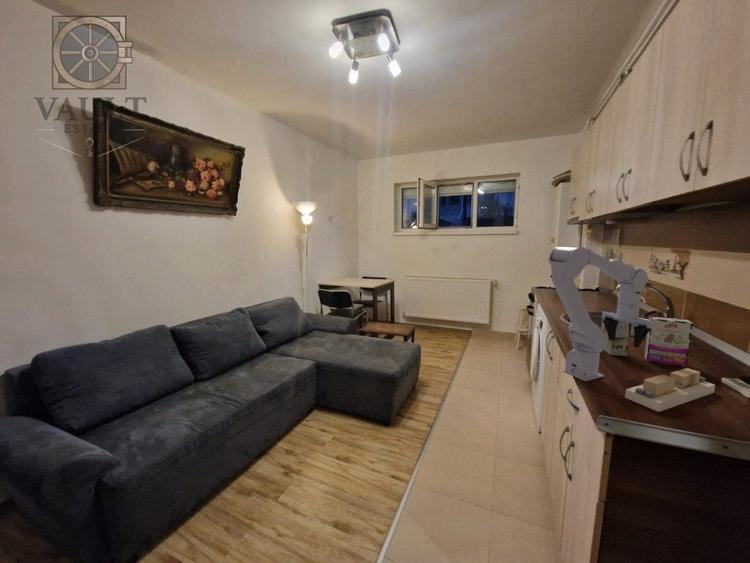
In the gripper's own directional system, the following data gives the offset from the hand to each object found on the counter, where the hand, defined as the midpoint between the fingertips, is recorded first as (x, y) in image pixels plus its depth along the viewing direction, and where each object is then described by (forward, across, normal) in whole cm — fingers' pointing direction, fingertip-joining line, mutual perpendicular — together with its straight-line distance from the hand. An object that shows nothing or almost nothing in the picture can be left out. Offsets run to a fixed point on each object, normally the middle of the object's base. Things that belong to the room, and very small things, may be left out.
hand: (623, 343), depth 106 cm
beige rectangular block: (+10, -16, -2) cm, 19 cm away
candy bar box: (+10, -1, -24) cm, 26 cm away
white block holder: (+10, -16, +4) cm, 19 cm away
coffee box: (+10, +13, -18) cm, 24 cm away
